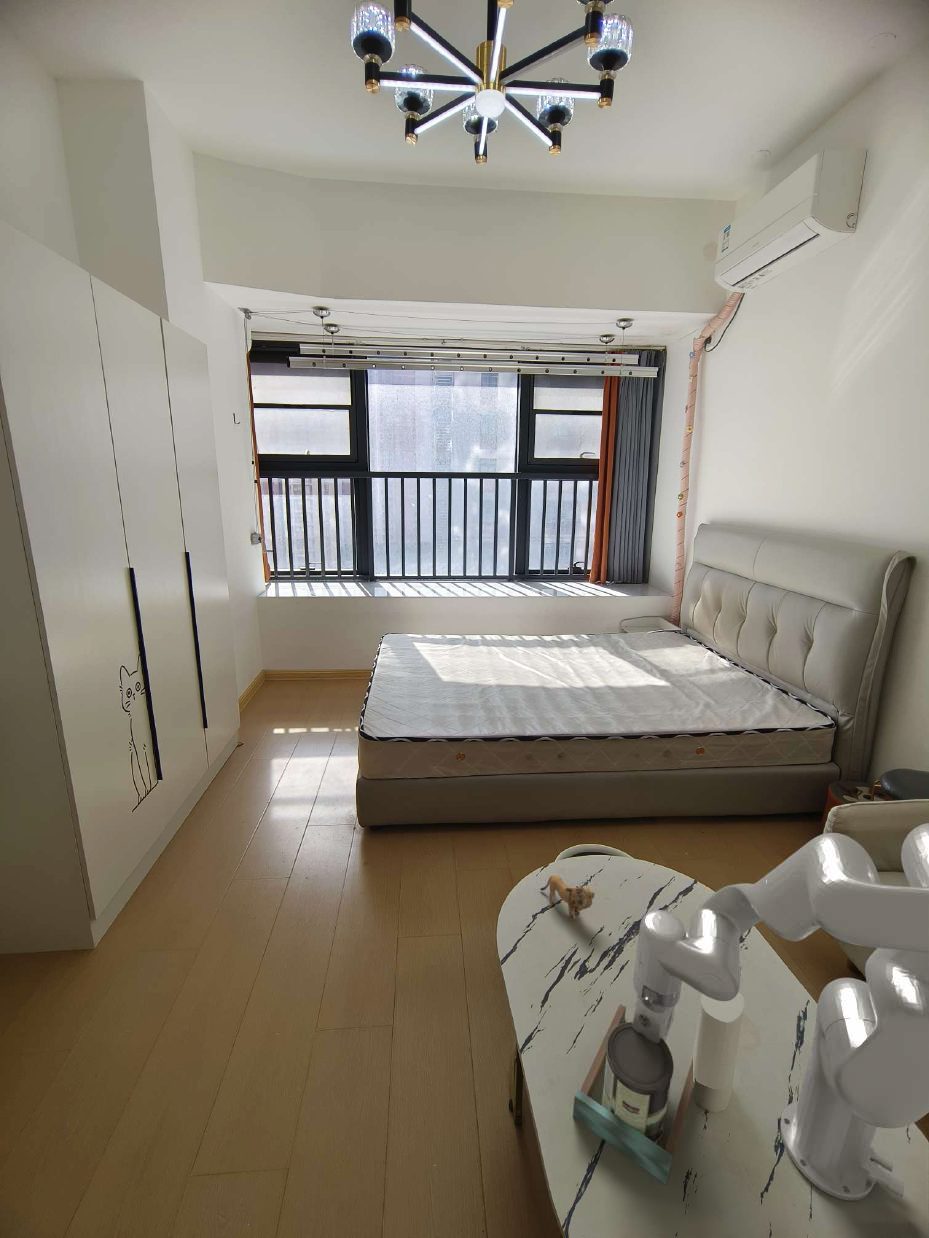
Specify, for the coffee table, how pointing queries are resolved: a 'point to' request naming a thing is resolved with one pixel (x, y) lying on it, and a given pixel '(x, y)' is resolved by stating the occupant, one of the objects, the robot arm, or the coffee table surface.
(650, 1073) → the coffee can
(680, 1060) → the coffee table surface
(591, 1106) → the bay
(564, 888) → the lion figurine
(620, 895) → the coffee table surface
